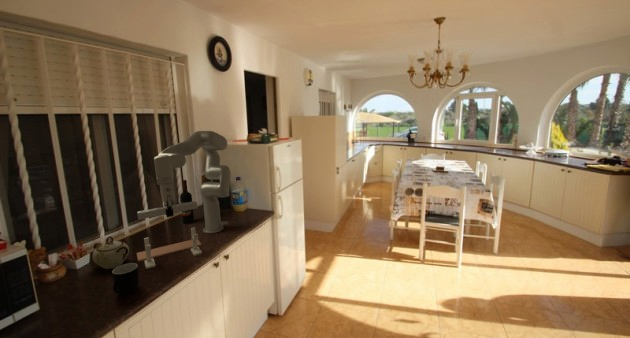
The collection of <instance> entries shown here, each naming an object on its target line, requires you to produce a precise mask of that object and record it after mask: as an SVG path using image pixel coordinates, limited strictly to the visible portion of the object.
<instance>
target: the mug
mask: <svg viewBox="0 0 630 338" xmlns="http://www.w3.org/2000/svg"><path fill="white" fill-rule="evenodd" d="M138 266H139V265H138V264H137V263H133V262H129V263H125V264H121V265H120V266H118V267H115V268H113V270H112V271H111V274H112V279H113V286H112V289H113V292H114V293H115V294H119V295H122V296H125V295H130V294H133V293H134V292H135V291H137V289H138V288H139V287H138V286H139V276H140V275H139V267H138Z"/></svg>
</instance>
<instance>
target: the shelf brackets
mask: <svg viewBox="0 0 630 338" xmlns="http://www.w3.org/2000/svg"><path fill="white" fill-rule="evenodd" d="M190 231H191V232H190V233H191V240H192V244H193V248H190V251H191V253H192V254H193V256H194V257H195V256H200V255H203V251H202V250H201V249H200V246H198V247H197V241H196V240H199V233H197V232H196V227H191V228H190ZM143 241H144V242H143V243H144V249H145V250H144V251H146V258H147V260H143V261H144V266H145V269H146V270H149V269H151V268H155V267H157V266H156V262H155V259H154V258H151V252H150V251H151V249H152V248H151V247H152V245H151V244H150V238H149V237H144V238H143Z"/></svg>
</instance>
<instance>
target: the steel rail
mask: <svg viewBox="0 0 630 338" xmlns="http://www.w3.org/2000/svg"><path fill="white" fill-rule="evenodd" d="M172 208H173V214H175V213H181V211H186V210H191V209H193V210H195V209H198V202H197V201H196V200H195V201H193V200H192V202H188V203H182V204H180V203H179V204H172ZM136 213H137V215H136V216H137V219H138V220H144V219H148V218H156V217H160V216H164V215H165V216H166V207H164V206H161V207H156V208H151V209H150V208H148V209H144V210H140V211H137V212H136Z"/></svg>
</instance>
